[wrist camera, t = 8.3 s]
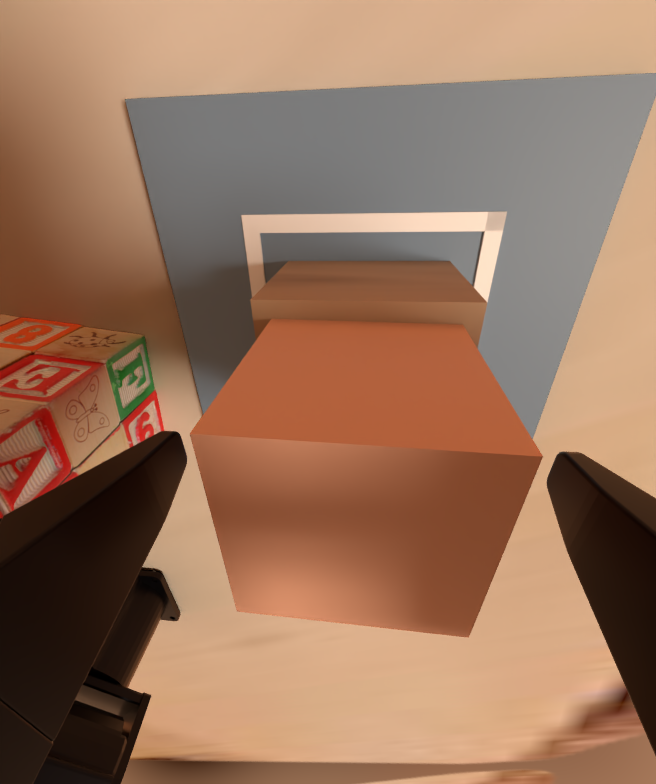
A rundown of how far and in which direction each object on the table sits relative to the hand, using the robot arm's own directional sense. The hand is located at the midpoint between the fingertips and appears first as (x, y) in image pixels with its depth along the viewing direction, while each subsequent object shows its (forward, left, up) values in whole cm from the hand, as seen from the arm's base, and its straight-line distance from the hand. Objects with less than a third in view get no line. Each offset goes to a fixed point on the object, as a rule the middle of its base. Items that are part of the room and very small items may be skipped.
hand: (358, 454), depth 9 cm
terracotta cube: (0, 0, -2) cm, 2 cm away
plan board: (0, 0, -8) cm, 8 cm away
